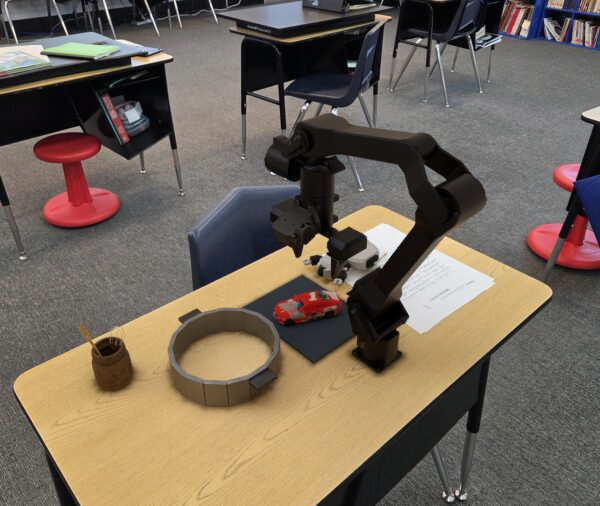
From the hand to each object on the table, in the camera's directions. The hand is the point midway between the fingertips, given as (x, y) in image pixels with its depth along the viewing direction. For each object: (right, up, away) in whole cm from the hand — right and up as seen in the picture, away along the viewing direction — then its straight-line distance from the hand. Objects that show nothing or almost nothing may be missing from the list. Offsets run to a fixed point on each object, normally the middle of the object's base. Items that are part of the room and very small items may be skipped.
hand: (315, 267), depth 98 cm
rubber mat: (-2, -9, +5) cm, 11 cm away
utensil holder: (-34, -18, -8) cm, 39 cm away
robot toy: (+7, -1, +19) cm, 20 cm away
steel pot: (-15, -16, -6) cm, 23 cm away
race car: (-1, -9, +5) cm, 11 cm away
